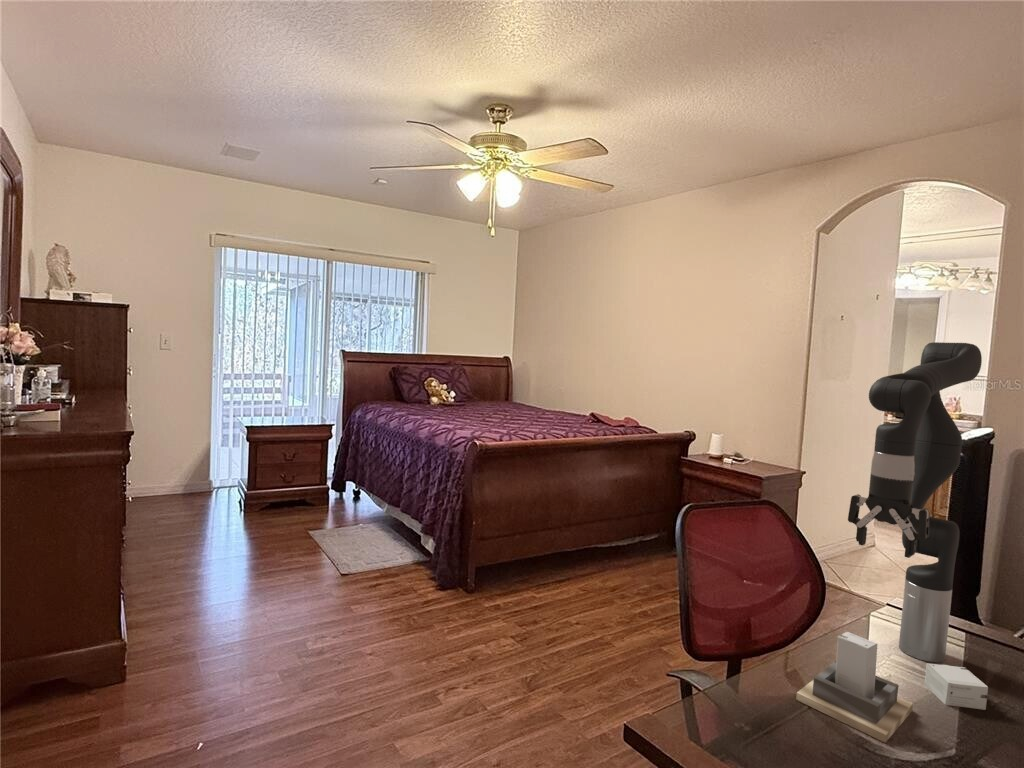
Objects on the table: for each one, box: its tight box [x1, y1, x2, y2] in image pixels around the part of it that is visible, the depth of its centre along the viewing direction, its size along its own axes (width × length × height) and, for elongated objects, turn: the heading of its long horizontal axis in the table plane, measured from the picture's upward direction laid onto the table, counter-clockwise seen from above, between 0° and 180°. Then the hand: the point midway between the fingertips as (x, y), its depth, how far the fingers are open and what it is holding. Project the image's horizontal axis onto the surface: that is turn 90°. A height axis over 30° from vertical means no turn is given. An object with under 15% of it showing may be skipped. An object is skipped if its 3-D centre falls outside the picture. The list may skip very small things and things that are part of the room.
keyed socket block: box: [795, 660, 914, 743], centre depth 117 cm, size 16×16×5 cm
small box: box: [924, 662, 989, 711], centre depth 122 cm, size 8×8×5 cm
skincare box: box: [835, 631, 878, 700], centre depth 117 cm, size 6×4×12 cm
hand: (884, 550), depth 122 cm, fingers open, 8 cm apart
